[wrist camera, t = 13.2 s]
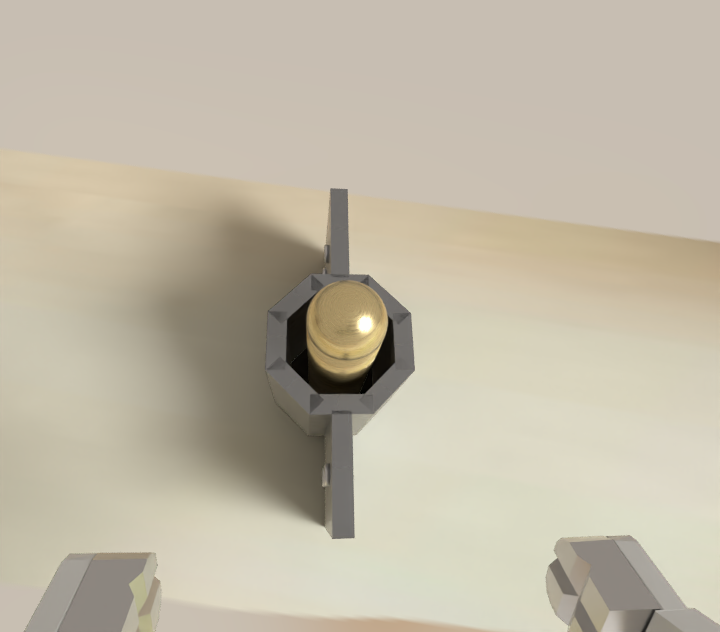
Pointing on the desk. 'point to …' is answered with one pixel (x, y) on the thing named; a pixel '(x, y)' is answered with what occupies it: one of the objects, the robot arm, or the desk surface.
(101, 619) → the robot arm
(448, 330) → the desk surface
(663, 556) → the desk surface
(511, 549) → the desk surface
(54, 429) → the desk surface
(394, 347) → the octagonal sleeve with tab
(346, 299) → the brass pin
